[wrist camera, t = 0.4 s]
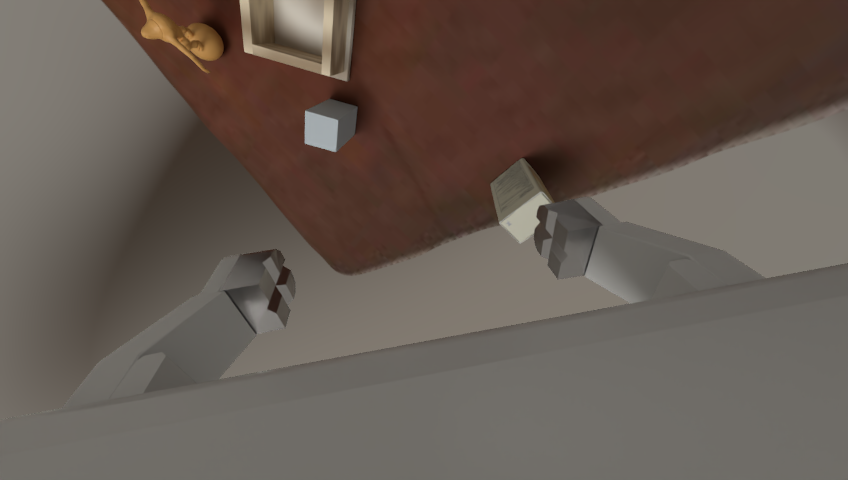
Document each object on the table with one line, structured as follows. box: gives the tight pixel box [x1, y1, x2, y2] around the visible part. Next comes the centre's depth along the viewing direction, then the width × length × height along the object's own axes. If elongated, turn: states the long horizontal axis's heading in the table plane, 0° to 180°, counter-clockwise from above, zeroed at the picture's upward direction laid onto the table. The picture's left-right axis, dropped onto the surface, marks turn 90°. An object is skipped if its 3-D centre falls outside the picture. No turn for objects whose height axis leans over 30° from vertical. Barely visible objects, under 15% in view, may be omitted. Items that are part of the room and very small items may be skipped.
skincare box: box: [490, 158, 554, 243], centre depth 41 cm, size 6×4×12 cm
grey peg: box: [305, 99, 358, 152], centre depth 40 cm, size 4×4×8 cm
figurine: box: [139, 0, 224, 73], centre depth 34 cm, size 8×6×12 cm
